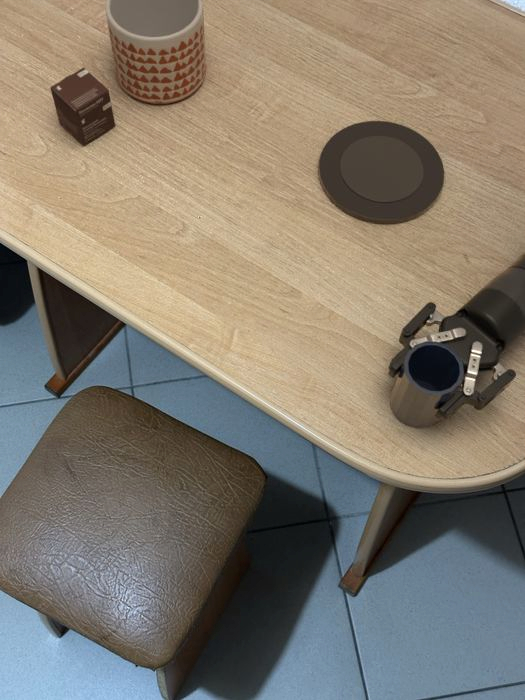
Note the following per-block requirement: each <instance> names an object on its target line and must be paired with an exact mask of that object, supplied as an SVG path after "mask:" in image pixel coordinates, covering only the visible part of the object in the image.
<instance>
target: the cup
mask: <svg viewBox="0 0 525 700" xmlns="http://www.w3.org/2000/svg"><path fill="white" fill-rule="evenodd" d="M463 376H464V368H463V363H462V361H461V359H460V357H459V355H458V354H457V353H456V352H455V351H454V350H453V349H452V348H450V347H449V346H447V345H445V344H442V343H440V342H431V341H426V342H423V343H420V344H417V345H415V346H414V347H413V348H412V349H411V350H409V351H408V353H407V355H406V358H405V360H404V363H403V365H402V368H401V370H400V372H399V373H398V374H397V378H396V380H395V383H394V385H393V388H392V391H391V392H390V397H389V404H390V409H391V411H392V413H393V414H394V416H395V417H396V418H397V420H399V421H400V422H401V423H402V424H404V425H406V426H408V427H411V428H414V429H424V428H428V427H431V426H433V425H435V424H436V423H437V422H439V421H440V420H439V419H438V418H436V417H435V415H436V413H437V411H438V410H439V409H440V408H441V407H442V406H443V405H444V404H445V403H446V402H447V401H448V400H449V399H450V398H451V397H452V396H453V395H454V394H455V393H456V392H457V391H458V390H459V388H460V387H461V385H460V384H461V381H462V379H463Z"/></svg>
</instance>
